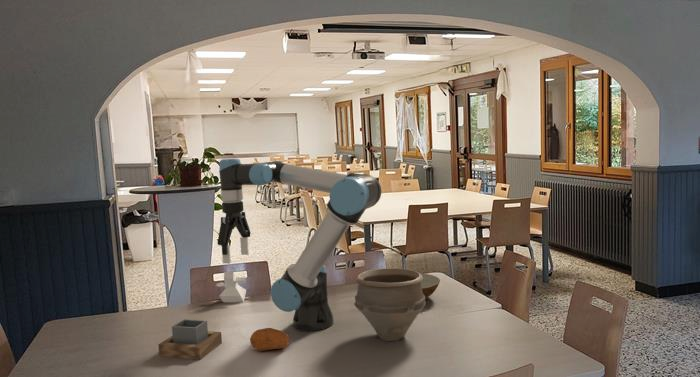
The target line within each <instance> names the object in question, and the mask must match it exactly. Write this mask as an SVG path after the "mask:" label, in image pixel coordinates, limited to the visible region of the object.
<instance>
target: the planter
mask: <svg viewBox="0 0 700 377" xmlns="http://www.w3.org/2000/svg"><path fill="white" fill-rule="evenodd" d="M420 273H421V272H418V271H416V270H412V269H407V268H399V267H398V268H379V269H378V268H377V269H370V270H366V271H362V272H360V273H359V274H357V275H356V277H355V282H356V283H357V291H356V294H355V296H354V300H355V302H354V304H353V305H354V306H355V308H357V310H358V311H359V312H360V313H361V315H363V317H364V318H365V319H366V320H367V321H368V322H369V324H370V325H371V327H372V328H373V329H374V331H375V332H376V334H377V336H378V337H379V338H380V340H383V341H387V342H390V341H391V342H394V341H400V340H401V339H403V338H404V337H406V334H407V332H408V330H409V329H410V327H411V326H412V324H413V323H414V321H415V320H416V318H417V317H418V316H419V314H420V312H421V311H422V310H423V308H425V306H426V305H427V304H426V299H425V295H424V294H423V292H422V287H421V281H422V280H423V276H422V275H421V274H420Z"/></svg>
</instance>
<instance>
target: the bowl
mask: <svg viewBox="0 0 700 377" xmlns="http://www.w3.org/2000/svg"><path fill="white" fill-rule="evenodd" d="M419 273H420V274H421V275H422V276H423V280H422V281H421V287H422V292H423V294H424V295H425V300H427V298H429V297H430V296H432V295H433V293H435V292H436V290H437V289H438V287H439V284H440V282H441V279H440V278H439V277H438V276H435V275H433V274H429V273H424V272H423V273H422V272H419Z"/></svg>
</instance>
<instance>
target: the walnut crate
mask: <svg viewBox="0 0 700 377" xmlns="http://www.w3.org/2000/svg"><path fill="white" fill-rule="evenodd" d="M222 343H223V338H222V332H221V331H211V330H208V338H206V339H205V340H203V341H202V342H201V343H199V344H198V345H194V344H181V343H173V335H172V336H169V337H168V338H166V339H165V340H163V341H161V342H160V343H158V344H157V345H158V356H159V357H163V358H164V357H166V358H175V359H176V358H178V359H188V360H190V359H191V360H202V359H203V358H204V357H206V356H207V355H208V354H210V353H211V352H213V351H214V350H215V349H216V348H218V346H220V345H221V344H222Z"/></svg>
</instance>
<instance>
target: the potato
mask: <svg viewBox="0 0 700 377" xmlns="http://www.w3.org/2000/svg"><path fill="white" fill-rule="evenodd" d="M249 342H250V345H251V346H252V347H253V349H255V350H256V351H258V352H263V351H268V350H276V349H278V350H280V349H284V348H286V347H287V346H288V345H289V343H290V336H289V335H288V333H286V332H284V331H282V330H279V329H275V328H272V327H265V328H260V329H257V330H255V331H253V333H252V334H251V335H250V337H249Z"/></svg>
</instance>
